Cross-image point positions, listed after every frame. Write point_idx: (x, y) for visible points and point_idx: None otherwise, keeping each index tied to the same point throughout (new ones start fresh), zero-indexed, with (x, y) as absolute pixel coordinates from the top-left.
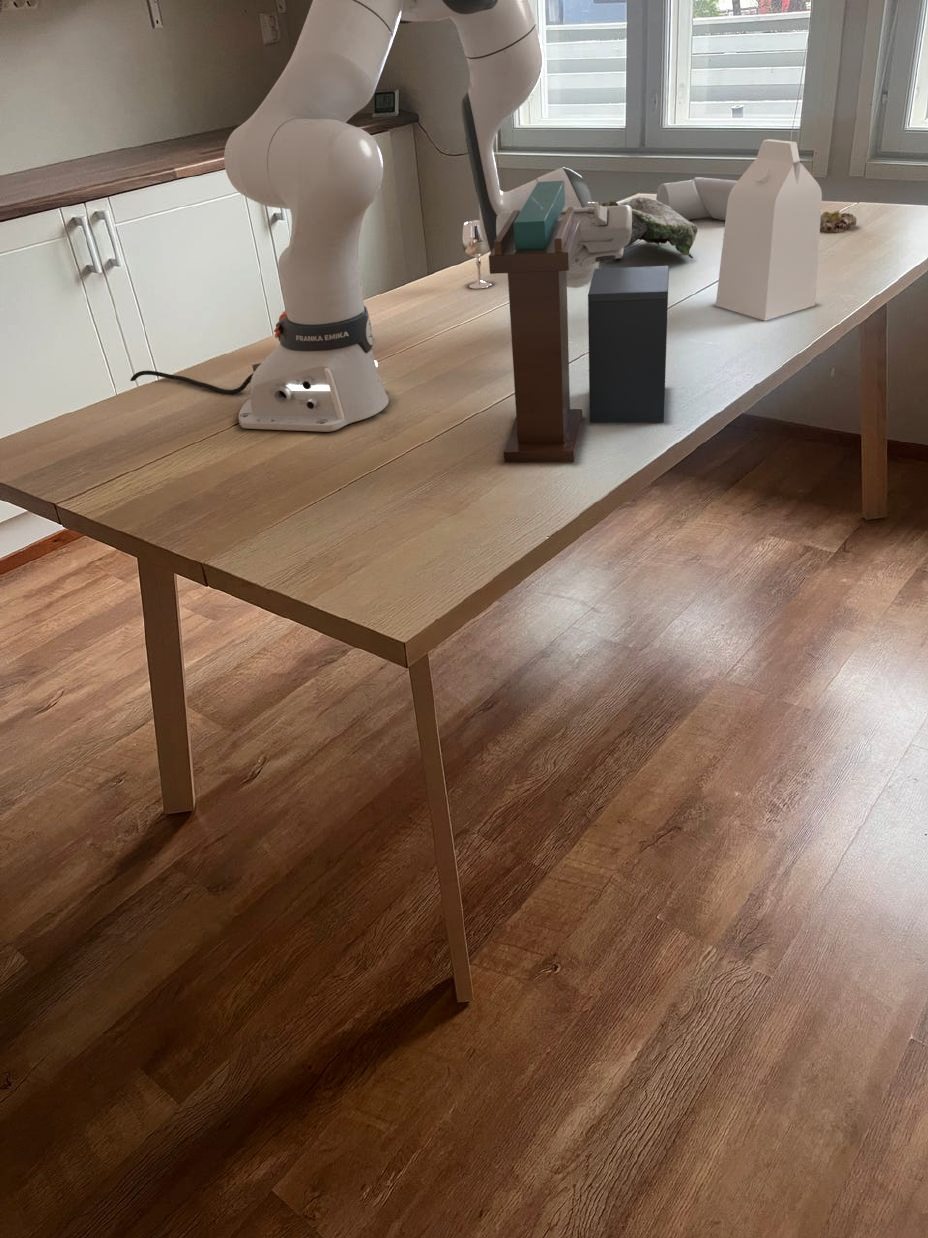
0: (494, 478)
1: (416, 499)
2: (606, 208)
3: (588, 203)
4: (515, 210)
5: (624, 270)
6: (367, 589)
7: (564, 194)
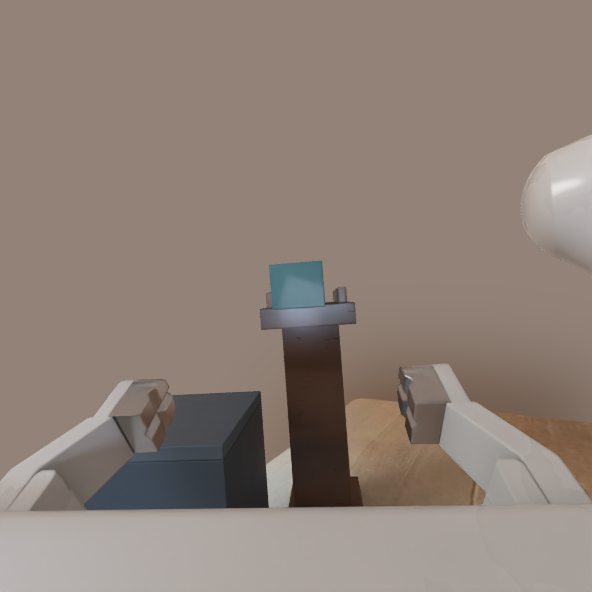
0: (359, 469)
1: (407, 450)
2: (21, 468)
3: (162, 380)
4: (342, 287)
5: (173, 436)
6: (387, 408)
7: (271, 290)
